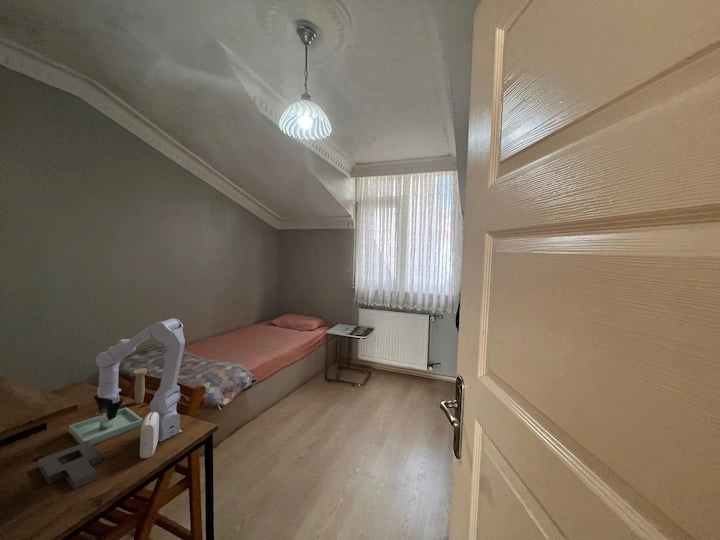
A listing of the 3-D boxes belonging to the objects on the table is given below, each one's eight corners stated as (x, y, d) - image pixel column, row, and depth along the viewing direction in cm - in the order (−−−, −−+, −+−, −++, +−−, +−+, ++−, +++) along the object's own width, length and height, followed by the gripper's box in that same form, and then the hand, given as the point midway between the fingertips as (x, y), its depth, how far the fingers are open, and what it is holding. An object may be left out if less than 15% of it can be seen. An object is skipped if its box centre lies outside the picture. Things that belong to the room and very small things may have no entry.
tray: (142, 425, 118) (143, 419, 118) (83, 448, 102) (83, 441, 102) (126, 412, 126) (126, 407, 126) (69, 432, 111) (69, 425, 111)
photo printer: (153, 457, 100) (154, 421, 100) (138, 460, 98) (139, 424, 98) (159, 440, 109) (160, 407, 109) (145, 442, 108) (146, 409, 107)
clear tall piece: (99, 433, 110) (100, 413, 110) (93, 430, 112) (94, 410, 112) (117, 425, 116) (118, 406, 116) (111, 422, 118) (112, 403, 117)
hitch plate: (110, 472, 92) (110, 464, 92) (56, 497, 82) (56, 488, 82) (88, 448, 103) (88, 441, 103) (38, 467, 92) (38, 459, 92)
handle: (146, 398, 139) (147, 367, 139) (144, 404, 134) (145, 372, 133) (133, 400, 137) (135, 368, 136) (131, 406, 131) (132, 373, 131)
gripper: (129, 382, 114) (128, 416, 114) (113, 373, 121) (112, 405, 121) (107, 388, 107) (105, 425, 108) (91, 379, 115) (89, 413, 115)
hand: (107, 415), depth 114 cm, fingers open, 7 cm apart
